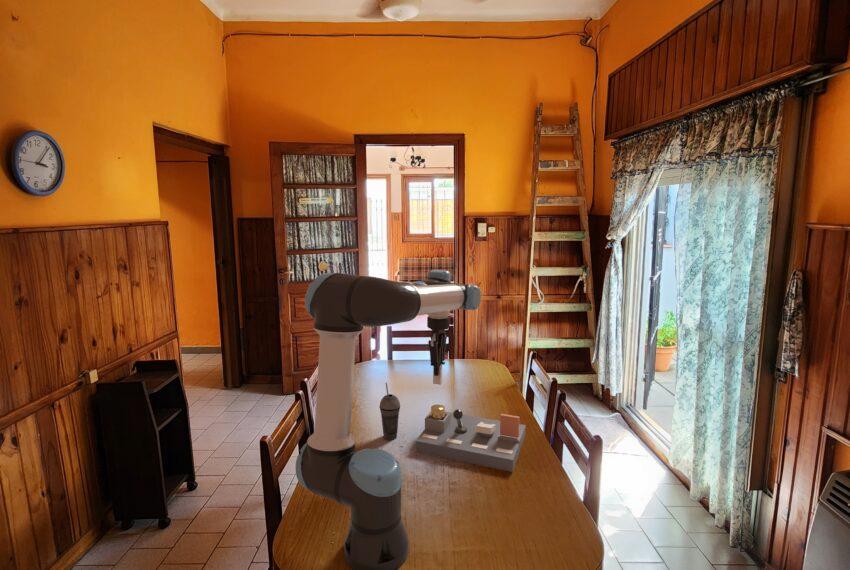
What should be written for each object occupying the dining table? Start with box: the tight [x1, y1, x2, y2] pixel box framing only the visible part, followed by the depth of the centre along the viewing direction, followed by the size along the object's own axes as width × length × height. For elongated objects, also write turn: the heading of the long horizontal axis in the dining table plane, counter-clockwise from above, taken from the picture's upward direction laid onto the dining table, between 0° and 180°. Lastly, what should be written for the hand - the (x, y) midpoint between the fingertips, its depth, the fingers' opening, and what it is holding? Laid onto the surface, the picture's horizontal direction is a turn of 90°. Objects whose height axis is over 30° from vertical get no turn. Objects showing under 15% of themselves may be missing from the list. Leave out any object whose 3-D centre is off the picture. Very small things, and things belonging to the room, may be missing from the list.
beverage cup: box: [378, 382, 401, 441], centre depth 161 cm, size 7×7×20 cm
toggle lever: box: [452, 409, 464, 429], centre depth 156 cm, size 3×3×9 cm
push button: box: [430, 404, 446, 420], centre depth 162 cm, size 5×5×6 cm
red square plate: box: [499, 413, 520, 438], centre depth 153 cm, size 1×6×7 cm, turn 69°
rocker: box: [476, 422, 495, 434], centre depth 156 cm, size 7×5×2 cm
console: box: [415, 411, 527, 473], centre depth 158 cm, size 24×32×8 cm
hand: (437, 383), depth 159 cm, fingers closed
